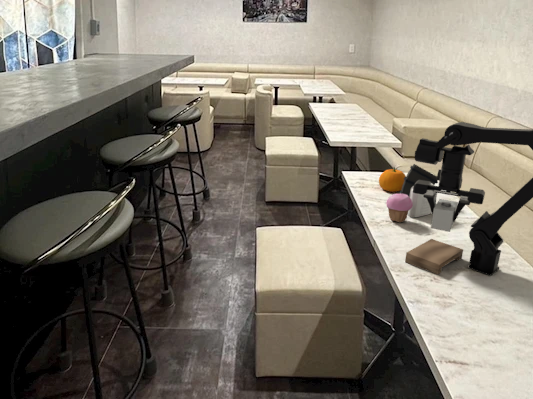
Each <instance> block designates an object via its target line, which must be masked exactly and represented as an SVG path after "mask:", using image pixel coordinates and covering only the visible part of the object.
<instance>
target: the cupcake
mask: <svg viewBox="0 0 533 399" xmlns="http://www.w3.org/2000/svg"><path fill="white" fill-rule="evenodd" d="M385 203H386V208H387V210H388V216H389V219H390V220H391V221H392V222H393V221H394V222H397V223H403V222H405V221H406V220H407V218H408V210H410V209H411V208H412V206H413V202H412V200H411V198H409V196H408V195H406V194H400V193H393V194H392V195H389V196H388V198H387V199H386V202H385Z"/></svg>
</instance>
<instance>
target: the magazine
mask: <svg viewBox="0 0 533 399" xmlns="http://www.w3.org/2000/svg"><path fill="white" fill-rule="evenodd" d="M409 168H410V169H409V170H408V172H407V174H406V175H405V176H406V177H404V183H403V186H402V190H400V191H399V194H406V195H408V196H409V197H410V190H411V188H412V187H413V186H414V184H415V183H416V182H417V181H418V180H424V181H430V182H431V183H432V184H433V185H434V186H436V184H439V182H438V181H439V180H437V175H436V174H434V173H431V172H429V171H428V170H426V169H424V168H423V167H421V166H419V165H417V164H415V163H413V165H410V167H409Z"/></svg>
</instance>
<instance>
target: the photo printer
mask: <svg viewBox="0 0 533 399" xmlns="http://www.w3.org/2000/svg"><path fill="white" fill-rule="evenodd" d="M431 185H433V184H432V183H431ZM433 186H435V185H433ZM413 187H414V186H413ZM413 187H412V188H411V190H410V197H409V198H411V200H412V202H413V206H412V208H411V209H410V210H408V214H407V217H410V218H420V217H424V216H428V215H430V214H432V212H431V208H430V205H429V203H428V200H427V198H424V197H423V196H424V195H422V194H416V193H413Z"/></svg>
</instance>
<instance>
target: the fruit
mask: <svg viewBox="0 0 533 399" xmlns="http://www.w3.org/2000/svg"><path fill="white" fill-rule="evenodd" d="M406 176H407V175H406V174H405V173H404V172H403V171H402V170H399V169H396V168H395V166H393V169H392V168H390V169H385V170H384V171H383V172H382V173H381V174H380V175H379V176H378V177H379V178H378V184H379V187H380V188H381V189H382V190H384V191H386V192H390V193H398V192H399V193H400V190H402V186H403V183H404V177H406Z"/></svg>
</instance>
